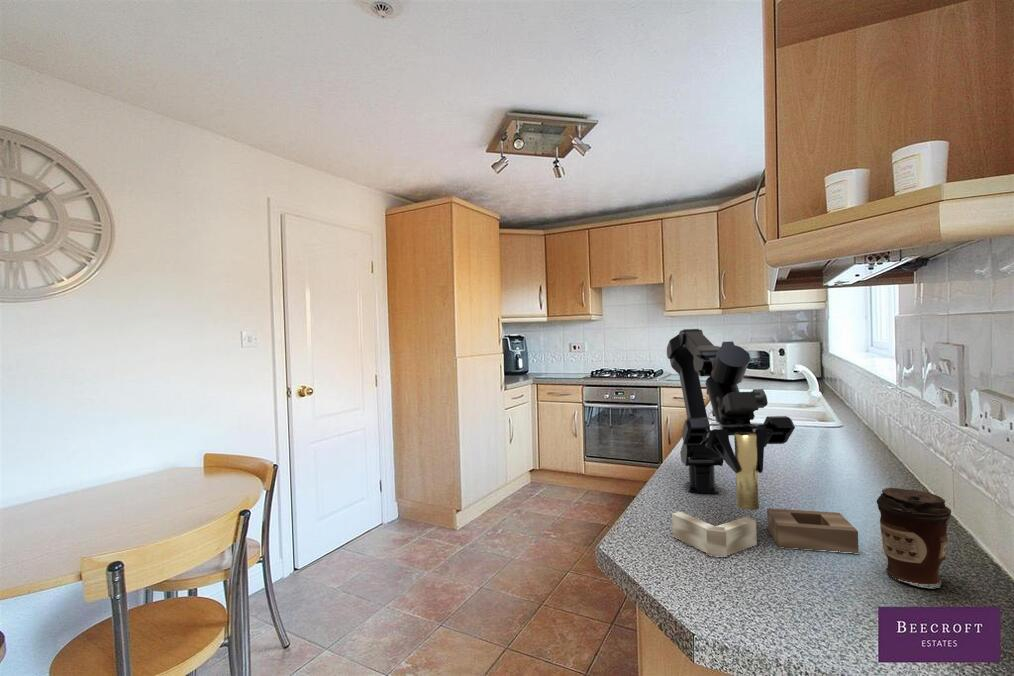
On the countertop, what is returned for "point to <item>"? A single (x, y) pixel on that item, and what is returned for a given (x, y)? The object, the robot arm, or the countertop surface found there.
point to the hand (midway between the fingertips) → (749, 472)
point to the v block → (715, 534)
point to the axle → (746, 470)
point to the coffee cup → (913, 534)
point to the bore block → (812, 530)
